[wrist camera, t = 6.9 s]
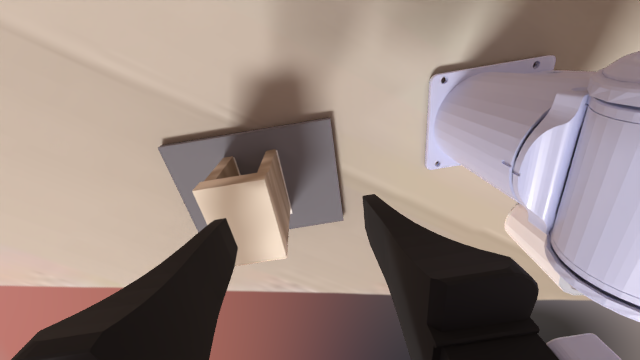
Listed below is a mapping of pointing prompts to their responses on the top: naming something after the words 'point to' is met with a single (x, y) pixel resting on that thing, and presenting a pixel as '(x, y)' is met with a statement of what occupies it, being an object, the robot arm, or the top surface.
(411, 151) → the top surface
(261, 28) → the top surface
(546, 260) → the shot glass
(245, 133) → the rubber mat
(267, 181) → the two-pronged tan block
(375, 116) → the top surface
